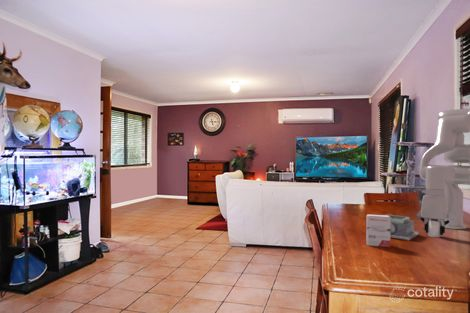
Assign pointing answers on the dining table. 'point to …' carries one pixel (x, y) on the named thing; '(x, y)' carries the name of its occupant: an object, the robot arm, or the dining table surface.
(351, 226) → the dining table surface
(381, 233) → the ink box
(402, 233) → the motor
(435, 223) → the white cylinder
